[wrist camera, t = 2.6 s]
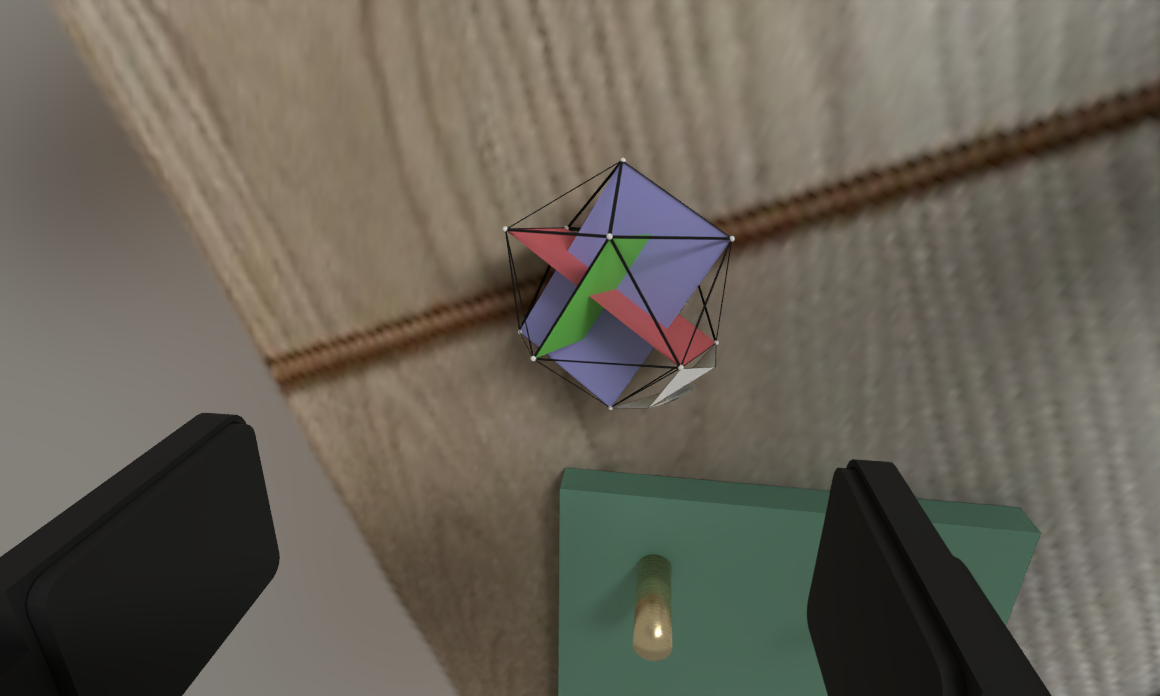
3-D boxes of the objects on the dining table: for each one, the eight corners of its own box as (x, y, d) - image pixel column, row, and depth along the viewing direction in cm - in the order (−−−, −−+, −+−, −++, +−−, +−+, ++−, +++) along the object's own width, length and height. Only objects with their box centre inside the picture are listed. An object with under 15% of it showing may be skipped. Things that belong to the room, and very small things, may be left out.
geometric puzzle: (436, 280, 22) (516, 448, 16) (530, 96, 19) (662, 225, 14) (591, 322, 26) (693, 463, 21) (685, 178, 24) (830, 299, 18)
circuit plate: (1020, 507, 25) (1040, 533, 23) (915, 800, 32) (926, 833, 30) (565, 467, 27) (560, 488, 25) (562, 752, 34) (557, 780, 32)
